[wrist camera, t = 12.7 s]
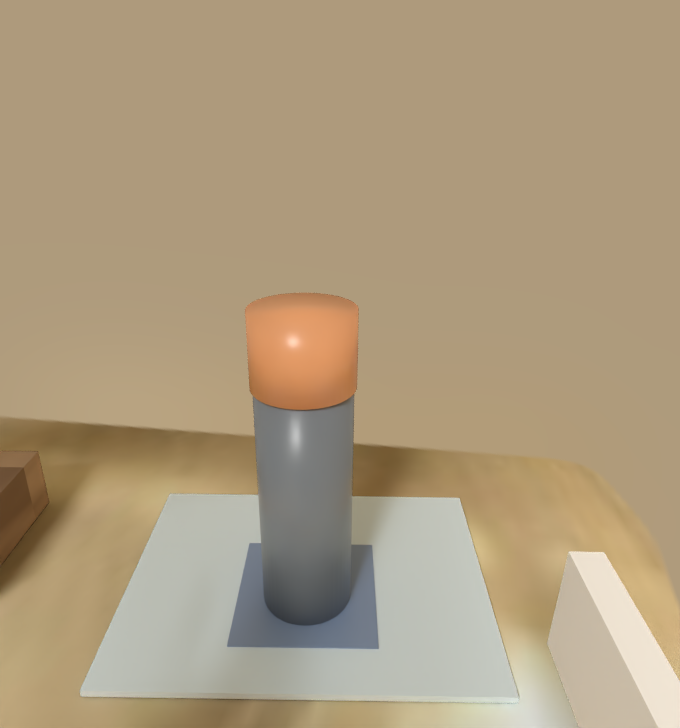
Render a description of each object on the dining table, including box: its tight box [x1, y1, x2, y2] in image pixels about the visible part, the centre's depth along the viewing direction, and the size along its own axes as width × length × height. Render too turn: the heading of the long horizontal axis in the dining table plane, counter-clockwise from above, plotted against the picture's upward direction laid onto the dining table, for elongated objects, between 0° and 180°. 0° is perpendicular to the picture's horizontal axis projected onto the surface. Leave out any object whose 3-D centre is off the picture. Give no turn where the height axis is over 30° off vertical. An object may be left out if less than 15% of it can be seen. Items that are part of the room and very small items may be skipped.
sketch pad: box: [80, 494, 519, 703], centre depth 27 cm, size 16×12×1 cm
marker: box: [245, 293, 359, 626], centre depth 23 cm, size 4×4×13 cm
